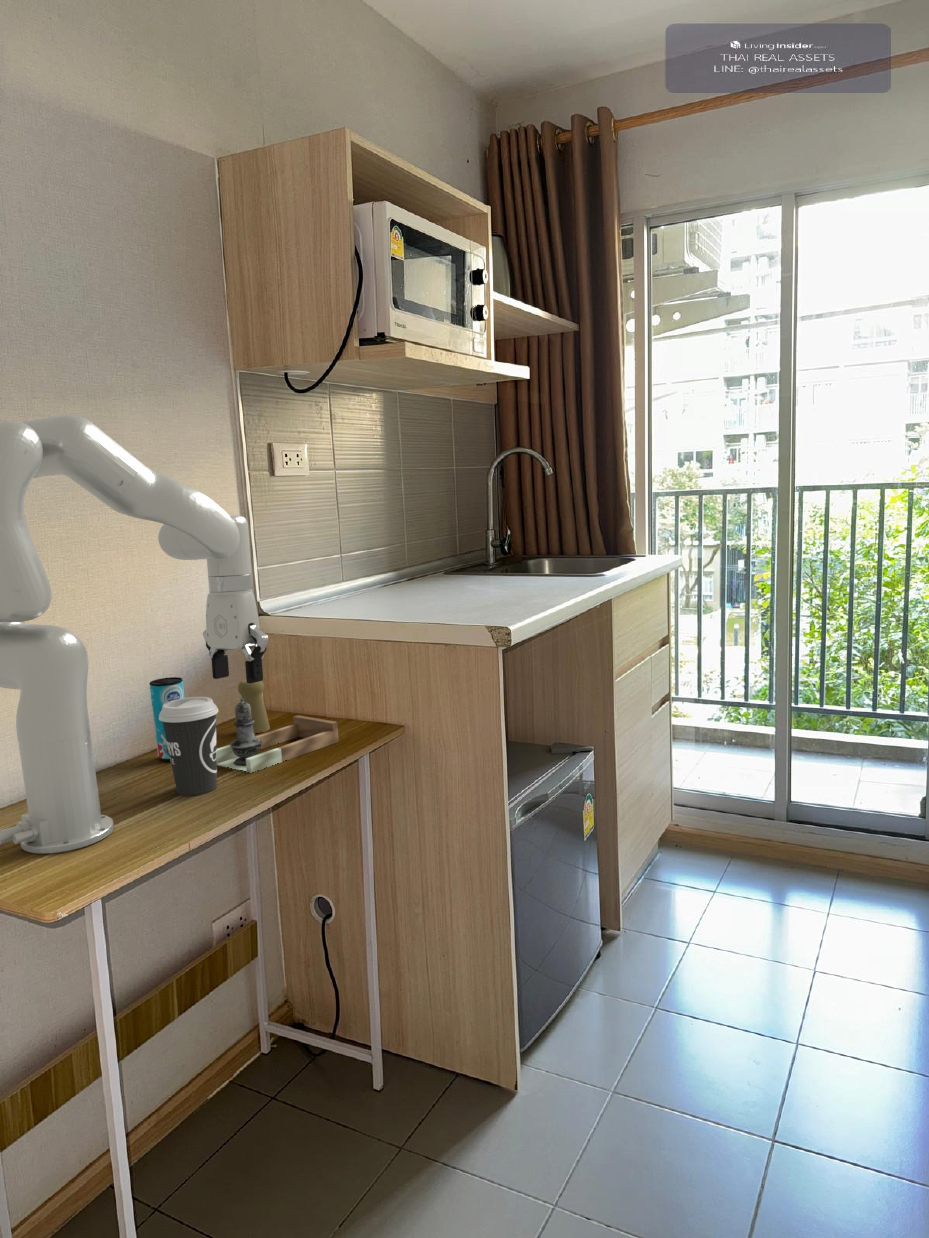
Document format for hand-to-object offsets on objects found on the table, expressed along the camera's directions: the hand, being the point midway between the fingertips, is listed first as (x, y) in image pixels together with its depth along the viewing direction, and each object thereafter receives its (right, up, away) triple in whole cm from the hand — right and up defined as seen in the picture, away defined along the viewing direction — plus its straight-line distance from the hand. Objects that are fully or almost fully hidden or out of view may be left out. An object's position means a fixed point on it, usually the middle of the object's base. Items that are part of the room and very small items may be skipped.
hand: (237, 679), depth 158 cm
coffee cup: (-4, -18, -10) cm, 21 cm away
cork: (-3, -13, +25) cm, 28 cm away
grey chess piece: (+1, -15, +3) cm, 16 cm away
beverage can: (-14, -16, +9) cm, 23 cm away
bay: (+5, -14, +8) cm, 17 cm away
